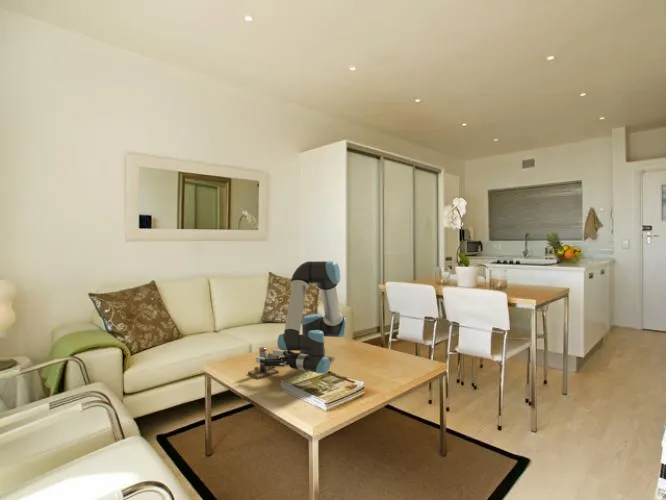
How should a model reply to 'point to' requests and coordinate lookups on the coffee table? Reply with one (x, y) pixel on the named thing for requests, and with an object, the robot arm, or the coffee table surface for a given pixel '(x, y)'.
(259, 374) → the peg rack
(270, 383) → the coffee table surface
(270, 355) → the mineral specimen
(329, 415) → the coffee table surface
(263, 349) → the pin
